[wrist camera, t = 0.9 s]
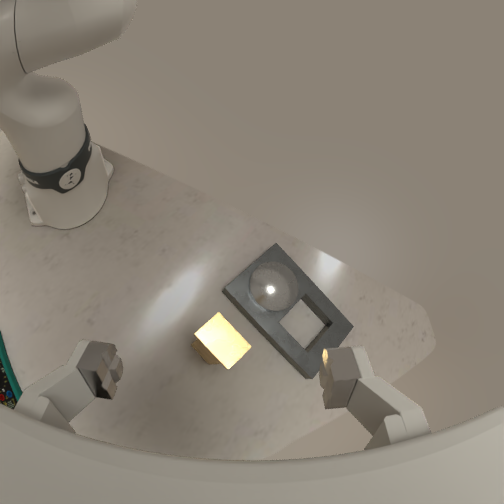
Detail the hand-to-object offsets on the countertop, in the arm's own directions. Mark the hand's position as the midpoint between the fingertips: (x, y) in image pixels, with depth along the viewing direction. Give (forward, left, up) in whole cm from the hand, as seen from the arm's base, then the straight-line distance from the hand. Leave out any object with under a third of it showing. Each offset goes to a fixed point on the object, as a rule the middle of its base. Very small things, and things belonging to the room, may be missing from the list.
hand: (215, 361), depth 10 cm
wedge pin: (+1, +5, -34) cm, 34 cm away
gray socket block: (+6, +19, -34) cm, 39 cm away
